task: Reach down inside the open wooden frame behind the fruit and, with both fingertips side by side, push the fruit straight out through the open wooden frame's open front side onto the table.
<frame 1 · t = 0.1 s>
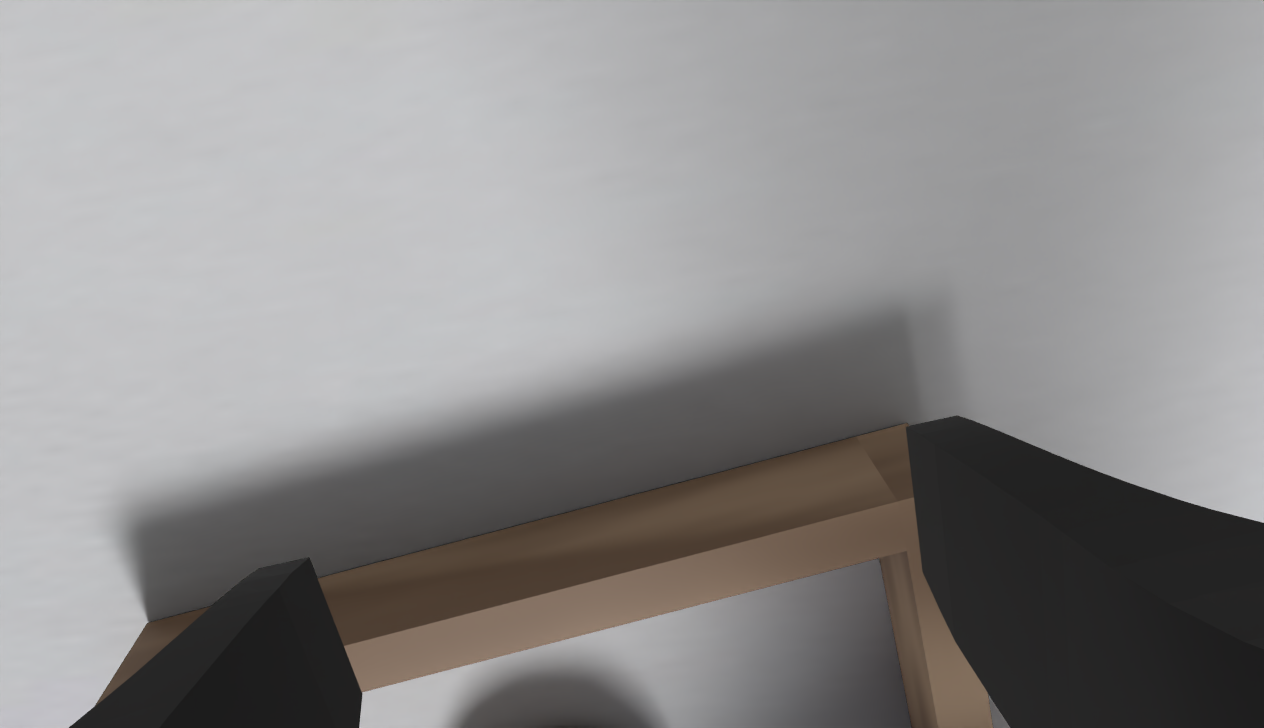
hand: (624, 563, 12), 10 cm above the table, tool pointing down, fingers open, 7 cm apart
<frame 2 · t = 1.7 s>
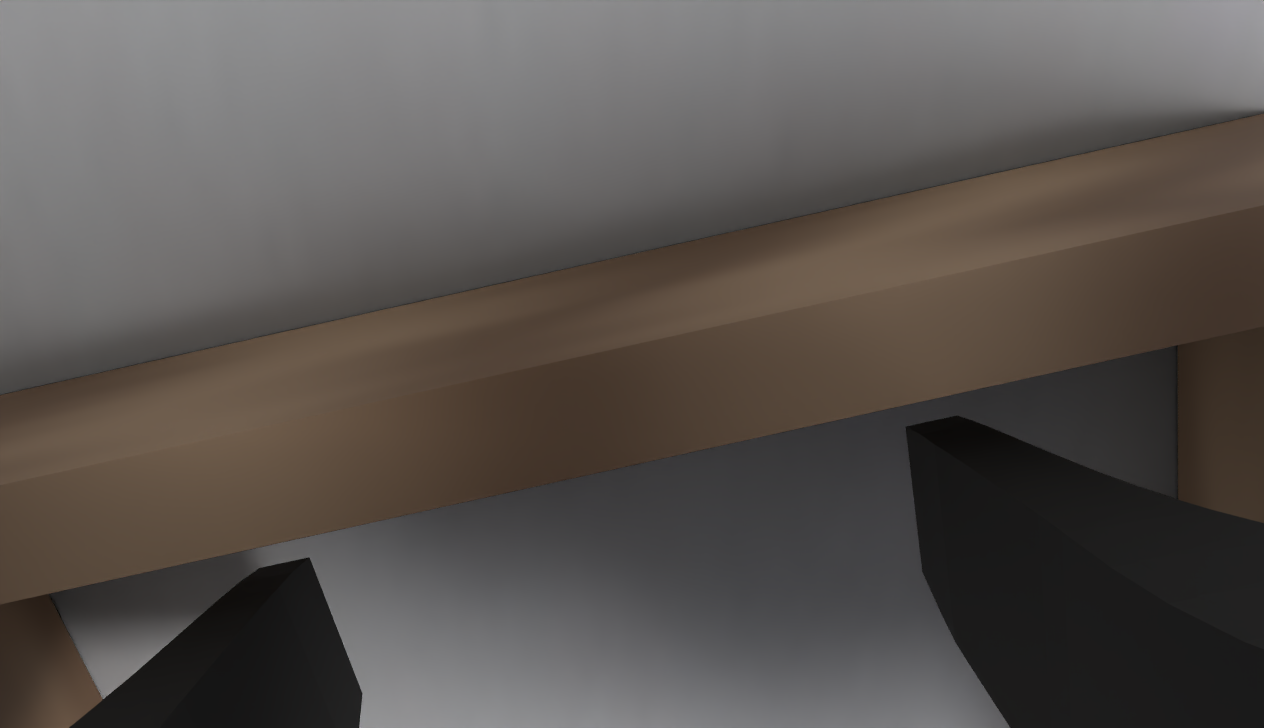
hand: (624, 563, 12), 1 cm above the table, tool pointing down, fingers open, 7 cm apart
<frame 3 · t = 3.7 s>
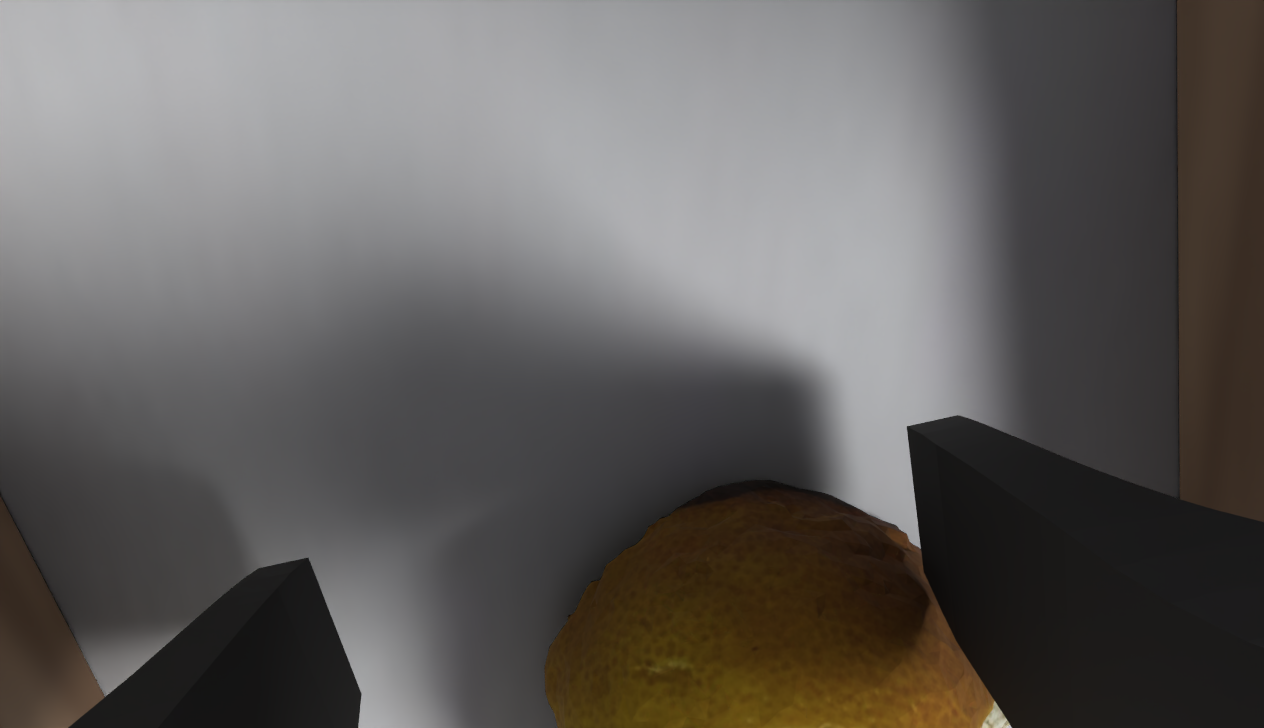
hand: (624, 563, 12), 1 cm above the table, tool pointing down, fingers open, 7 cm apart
open wooden frame: (585, 371, 12), on the table
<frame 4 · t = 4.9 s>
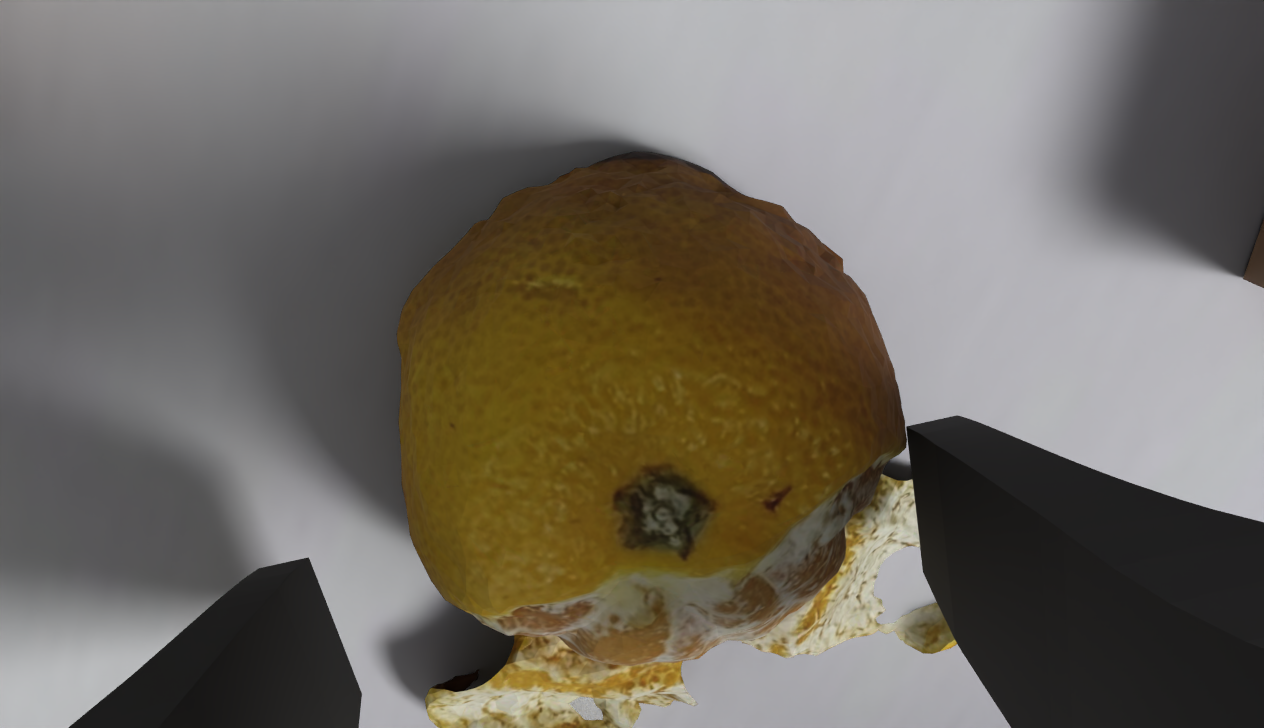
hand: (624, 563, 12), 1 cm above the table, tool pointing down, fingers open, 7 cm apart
fruit: (649, 505, 14), on the table
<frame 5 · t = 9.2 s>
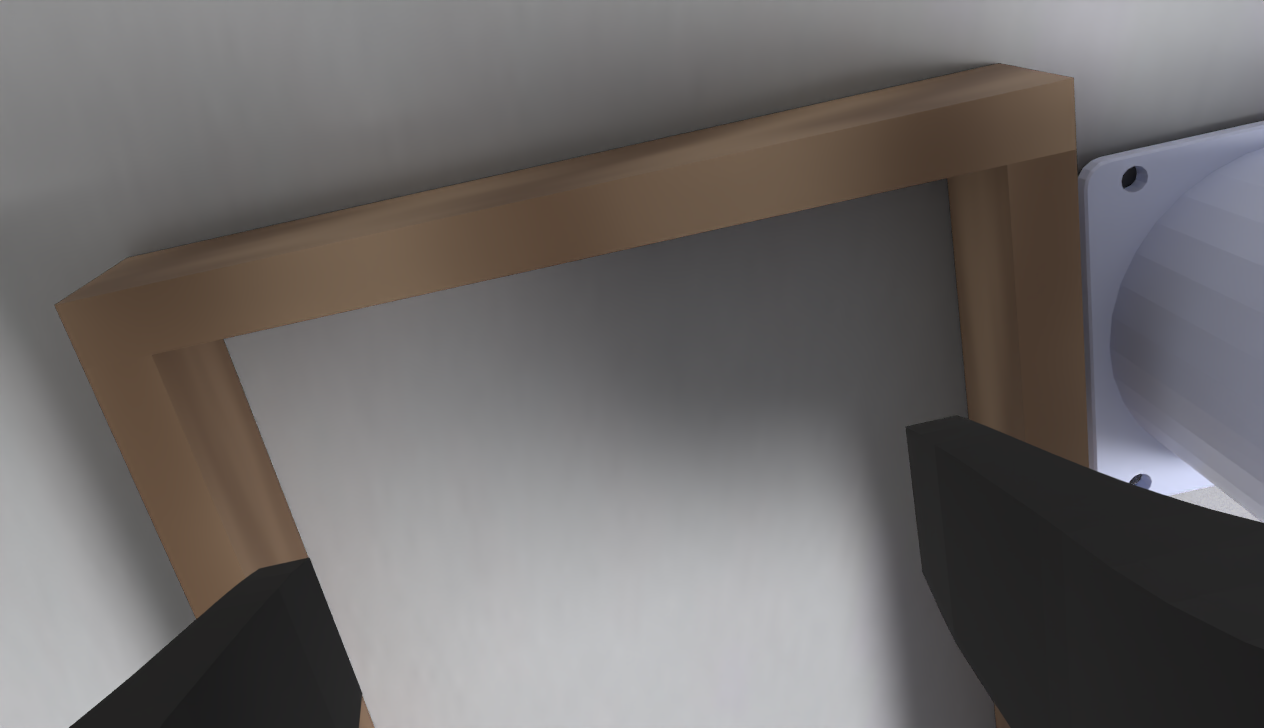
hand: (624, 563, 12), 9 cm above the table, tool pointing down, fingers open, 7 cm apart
open wooden frame: (677, 660, 24), on the table
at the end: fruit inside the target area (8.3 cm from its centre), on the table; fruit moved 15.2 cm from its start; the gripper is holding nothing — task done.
